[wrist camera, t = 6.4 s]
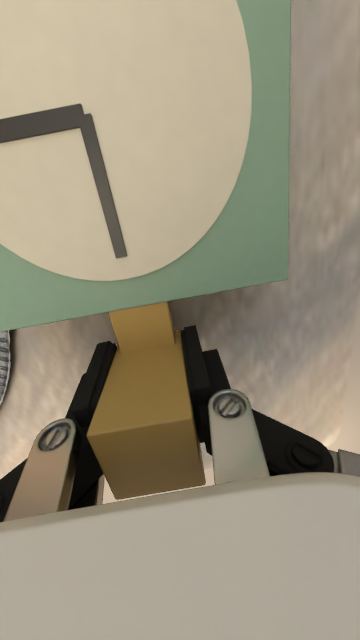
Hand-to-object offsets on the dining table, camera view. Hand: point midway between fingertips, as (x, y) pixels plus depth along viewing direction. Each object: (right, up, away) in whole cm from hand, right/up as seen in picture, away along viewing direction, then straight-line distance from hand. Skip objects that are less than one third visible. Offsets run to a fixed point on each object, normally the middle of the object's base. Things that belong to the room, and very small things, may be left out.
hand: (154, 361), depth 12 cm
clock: (-1, +6, -2) cm, 7 cm away
